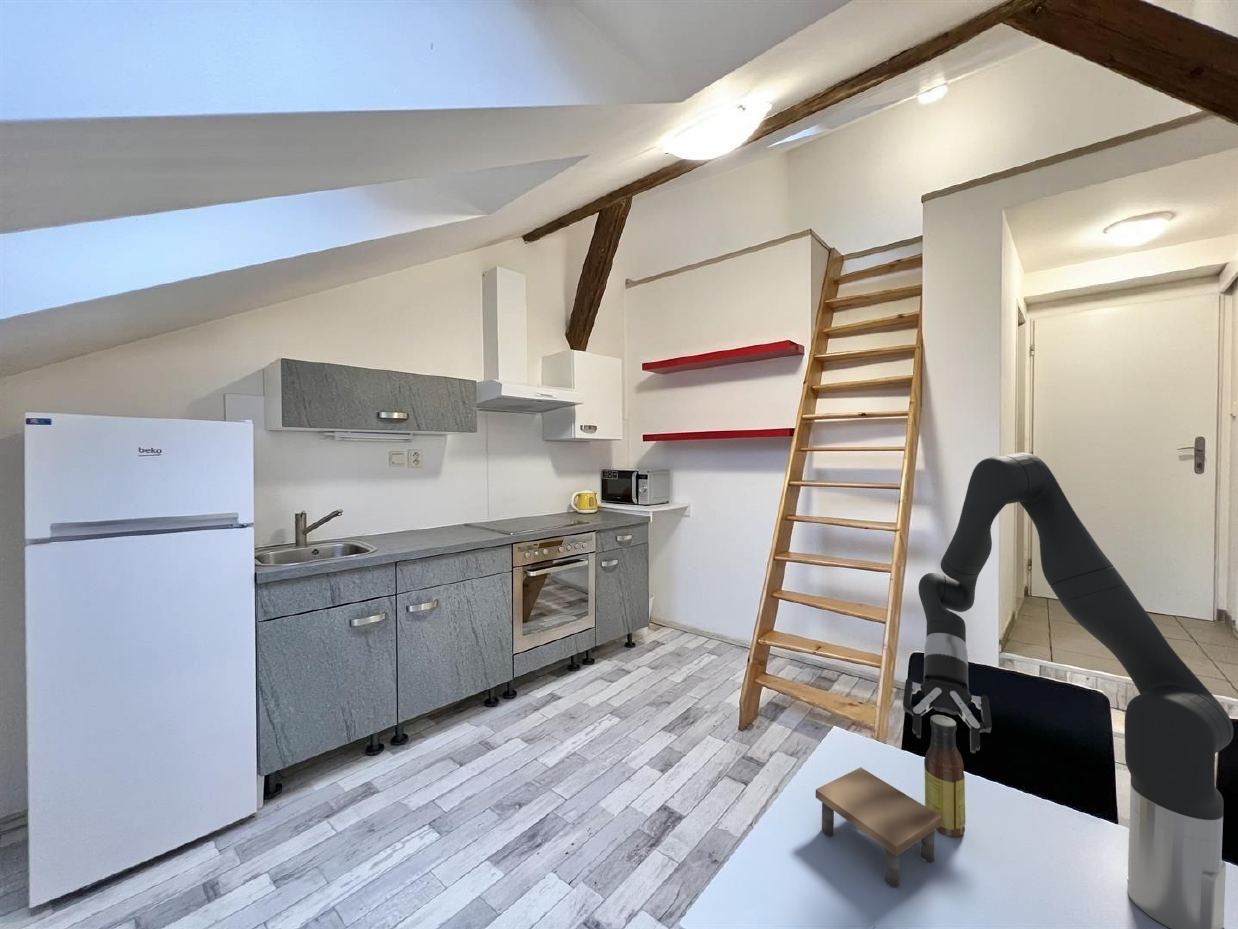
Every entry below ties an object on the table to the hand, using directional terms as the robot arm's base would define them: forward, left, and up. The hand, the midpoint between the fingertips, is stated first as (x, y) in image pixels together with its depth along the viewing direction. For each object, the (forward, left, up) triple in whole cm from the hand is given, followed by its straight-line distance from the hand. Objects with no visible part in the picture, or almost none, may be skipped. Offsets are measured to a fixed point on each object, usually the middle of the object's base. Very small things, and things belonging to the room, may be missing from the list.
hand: (945, 744), depth 93 cm
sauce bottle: (-1, +2, -15) cm, 15 cm away
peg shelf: (+3, +17, -14) cm, 22 cm away
